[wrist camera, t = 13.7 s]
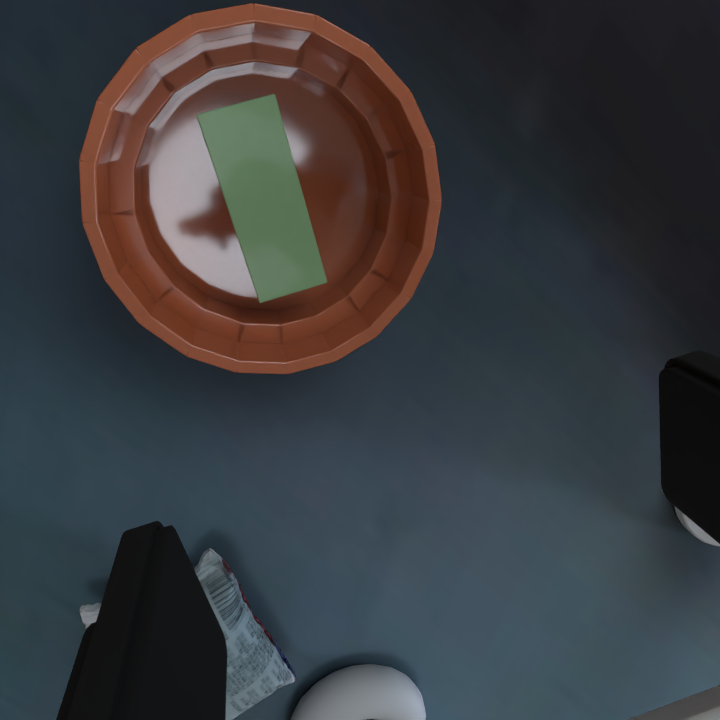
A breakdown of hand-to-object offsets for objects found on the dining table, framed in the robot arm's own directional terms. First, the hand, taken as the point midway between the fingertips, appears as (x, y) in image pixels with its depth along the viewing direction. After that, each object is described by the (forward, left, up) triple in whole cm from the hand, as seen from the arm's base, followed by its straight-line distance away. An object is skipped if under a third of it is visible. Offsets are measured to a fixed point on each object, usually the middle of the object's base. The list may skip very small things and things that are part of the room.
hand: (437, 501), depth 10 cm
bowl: (0, -4, -21) cm, 21 cm away
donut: (+14, +30, -21) cm, 39 cm away
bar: (0, -4, -20) cm, 21 cm away
